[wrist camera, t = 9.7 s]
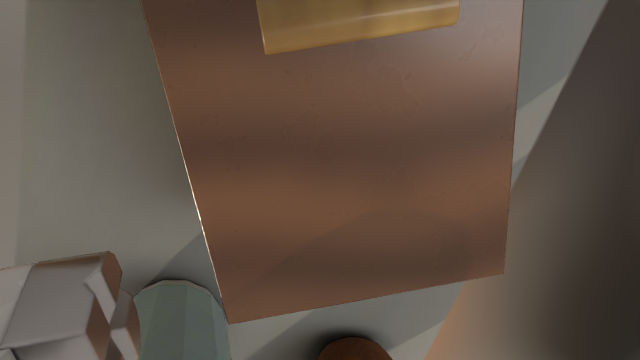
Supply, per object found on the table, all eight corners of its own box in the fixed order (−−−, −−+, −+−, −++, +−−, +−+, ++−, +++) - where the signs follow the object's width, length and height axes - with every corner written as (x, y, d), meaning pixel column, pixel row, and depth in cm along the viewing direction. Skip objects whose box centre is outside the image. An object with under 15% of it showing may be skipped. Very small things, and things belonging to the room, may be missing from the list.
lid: (125, -66, 20) (101, -34, 16) (524, -123, 21) (597, -106, 17) (227, 313, 29) (229, 393, 25) (498, 264, 30) (541, 334, 26)
